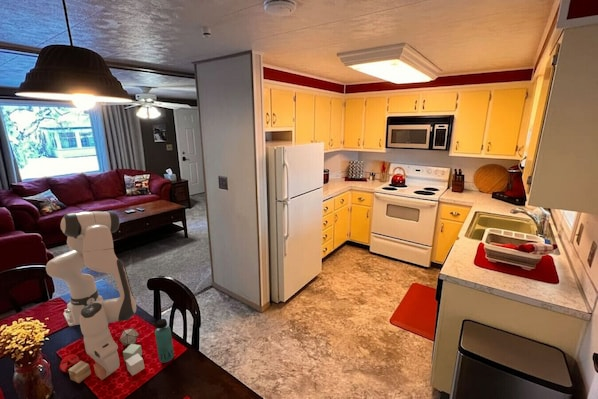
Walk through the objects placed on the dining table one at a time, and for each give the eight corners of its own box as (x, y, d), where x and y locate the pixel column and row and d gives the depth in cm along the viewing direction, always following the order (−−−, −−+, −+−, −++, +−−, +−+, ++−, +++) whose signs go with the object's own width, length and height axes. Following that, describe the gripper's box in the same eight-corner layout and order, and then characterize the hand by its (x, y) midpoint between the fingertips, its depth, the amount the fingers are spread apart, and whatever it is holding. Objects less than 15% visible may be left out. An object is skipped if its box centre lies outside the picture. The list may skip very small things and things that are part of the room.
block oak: (70, 379, 120) (68, 369, 119) (83, 370, 125) (80, 360, 124) (78, 383, 119) (76, 373, 117) (91, 373, 123) (88, 364, 122)
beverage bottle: (159, 368, 126) (153, 328, 120) (158, 357, 131) (152, 319, 126) (175, 362, 129) (170, 323, 123) (174, 352, 134) (168, 314, 129)
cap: (84, 359, 126) (78, 347, 129) (68, 365, 121) (63, 352, 123) (76, 371, 128) (70, 359, 130) (60, 377, 123) (55, 365, 125)
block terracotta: (95, 374, 122) (93, 365, 120) (108, 366, 126) (106, 356, 124) (101, 380, 119) (99, 370, 118) (114, 371, 123) (112, 361, 122)
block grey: (127, 369, 125) (125, 360, 124) (139, 362, 129) (137, 353, 127) (132, 376, 122) (130, 366, 120) (144, 368, 126) (143, 358, 124)
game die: (132, 352, 139) (127, 348, 131) (117, 345, 139) (110, 339, 132) (145, 334, 144) (141, 328, 137) (130, 327, 145) (125, 321, 137)
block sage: (124, 361, 129) (122, 352, 128) (132, 352, 134) (131, 343, 133) (134, 363, 128) (132, 353, 127) (142, 354, 133) (140, 345, 132)
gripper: (77, 337, 121) (84, 364, 125) (102, 357, 111) (109, 386, 114) (94, 328, 126) (100, 354, 130) (120, 347, 116) (125, 375, 120)
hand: (104, 369), depth 122 cm, fingers closed on block terracotta, 5 cm apart
